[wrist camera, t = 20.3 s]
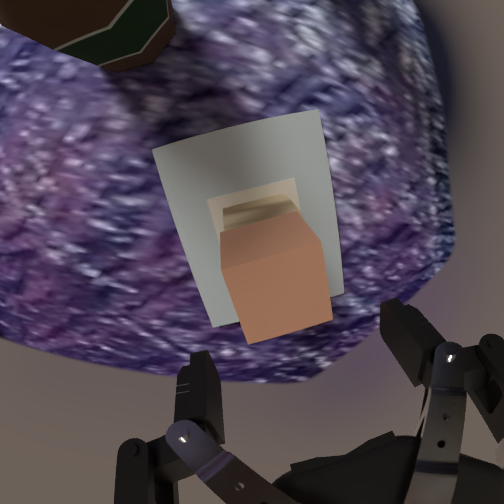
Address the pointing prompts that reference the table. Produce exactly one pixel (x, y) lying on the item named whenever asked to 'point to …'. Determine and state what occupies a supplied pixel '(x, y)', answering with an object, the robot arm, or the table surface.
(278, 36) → the table surface
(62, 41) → the beer bottle
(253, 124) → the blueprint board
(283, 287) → the terracotta block
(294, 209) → the maple block
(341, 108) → the table surface
